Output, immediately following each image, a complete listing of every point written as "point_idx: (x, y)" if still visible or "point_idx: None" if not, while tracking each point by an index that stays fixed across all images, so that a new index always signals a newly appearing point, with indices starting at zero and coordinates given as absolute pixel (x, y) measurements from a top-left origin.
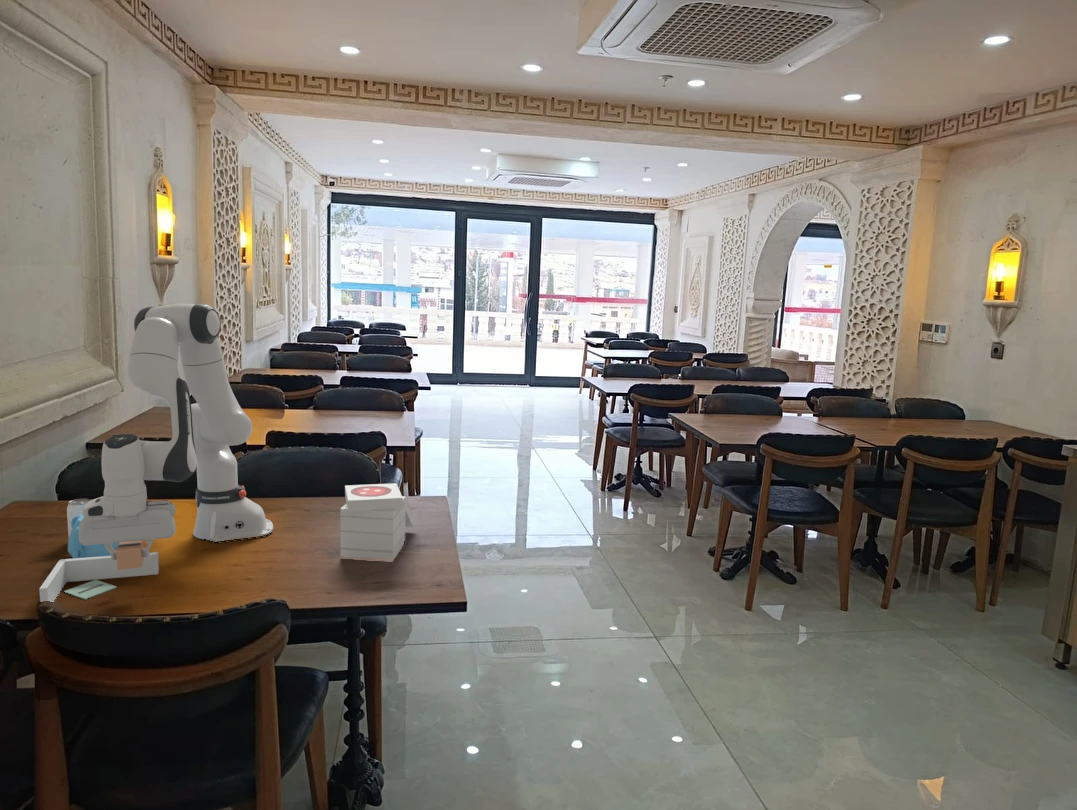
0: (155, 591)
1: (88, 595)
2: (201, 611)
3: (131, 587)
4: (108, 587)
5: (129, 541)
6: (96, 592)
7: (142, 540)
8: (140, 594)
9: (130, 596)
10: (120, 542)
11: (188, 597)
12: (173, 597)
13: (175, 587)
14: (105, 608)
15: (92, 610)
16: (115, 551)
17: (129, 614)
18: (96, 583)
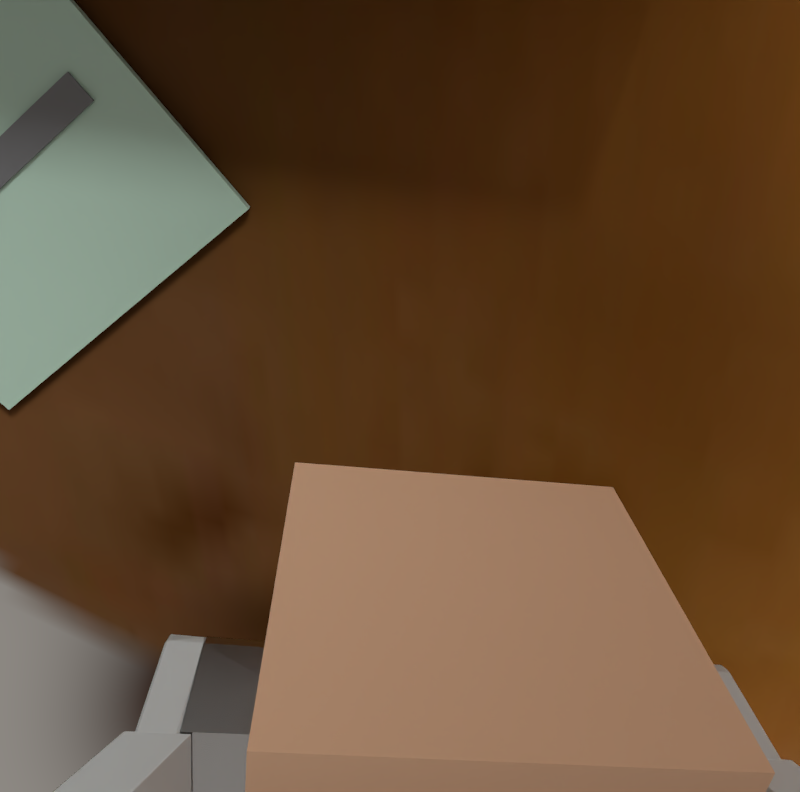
0: (583, 413)
1: (17, 350)
2: None
3: (388, 247)
4: (167, 205)
5: (479, 763)
6: (75, 300)
7: (765, 781)
8: (464, 436)
9: (385, 450)
10: (269, 765)
11: (782, 592)
12: (689, 563)
13: (748, 382)
14: (218, 604)
15: (130, 610)
16: (202, 764)
17: None
18: (4, 23)
